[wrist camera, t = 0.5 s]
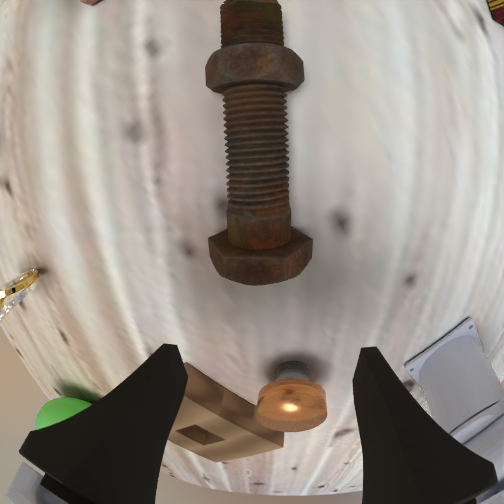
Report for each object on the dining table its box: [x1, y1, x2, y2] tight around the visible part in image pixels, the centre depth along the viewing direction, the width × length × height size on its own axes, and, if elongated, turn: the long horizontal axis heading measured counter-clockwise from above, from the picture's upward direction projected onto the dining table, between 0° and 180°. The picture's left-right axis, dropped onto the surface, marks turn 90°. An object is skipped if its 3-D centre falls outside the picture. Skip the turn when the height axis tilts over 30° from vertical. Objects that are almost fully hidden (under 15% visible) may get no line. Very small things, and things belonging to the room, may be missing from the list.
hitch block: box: [168, 362, 284, 462], centre depth 26 cm, size 14×12×4 cm
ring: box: [0, 268, 41, 323], centre depth 19 cm, size 7×3×8 cm, turn 99°
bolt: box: [205, 0, 313, 286], centre depth 13 cm, size 6×5×15 cm
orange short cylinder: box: [256, 361, 327, 432], centre depth 21 cm, size 6×6×5 cm
